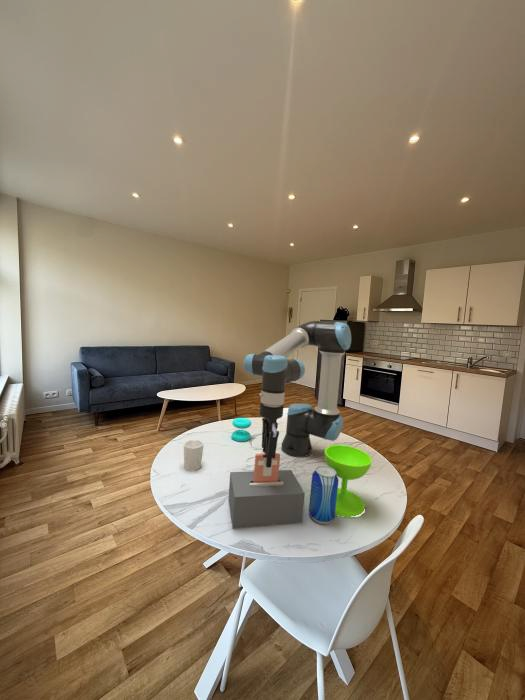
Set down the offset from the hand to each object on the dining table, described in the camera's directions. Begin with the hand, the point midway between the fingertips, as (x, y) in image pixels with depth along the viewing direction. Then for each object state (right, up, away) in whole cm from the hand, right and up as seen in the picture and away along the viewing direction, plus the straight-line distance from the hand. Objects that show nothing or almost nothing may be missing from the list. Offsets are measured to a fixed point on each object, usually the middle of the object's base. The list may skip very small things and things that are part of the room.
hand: (266, 473), depth 93 cm
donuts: (-13, -7, +58) cm, 59 cm away
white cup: (-31, -8, +25) cm, 41 cm away
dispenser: (-1, -13, +1) cm, 13 cm away
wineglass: (+27, -14, +9) cm, 32 cm away
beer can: (+18, -15, 0) cm, 23 cm away
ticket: (0, -5, +1) cm, 5 cm away
